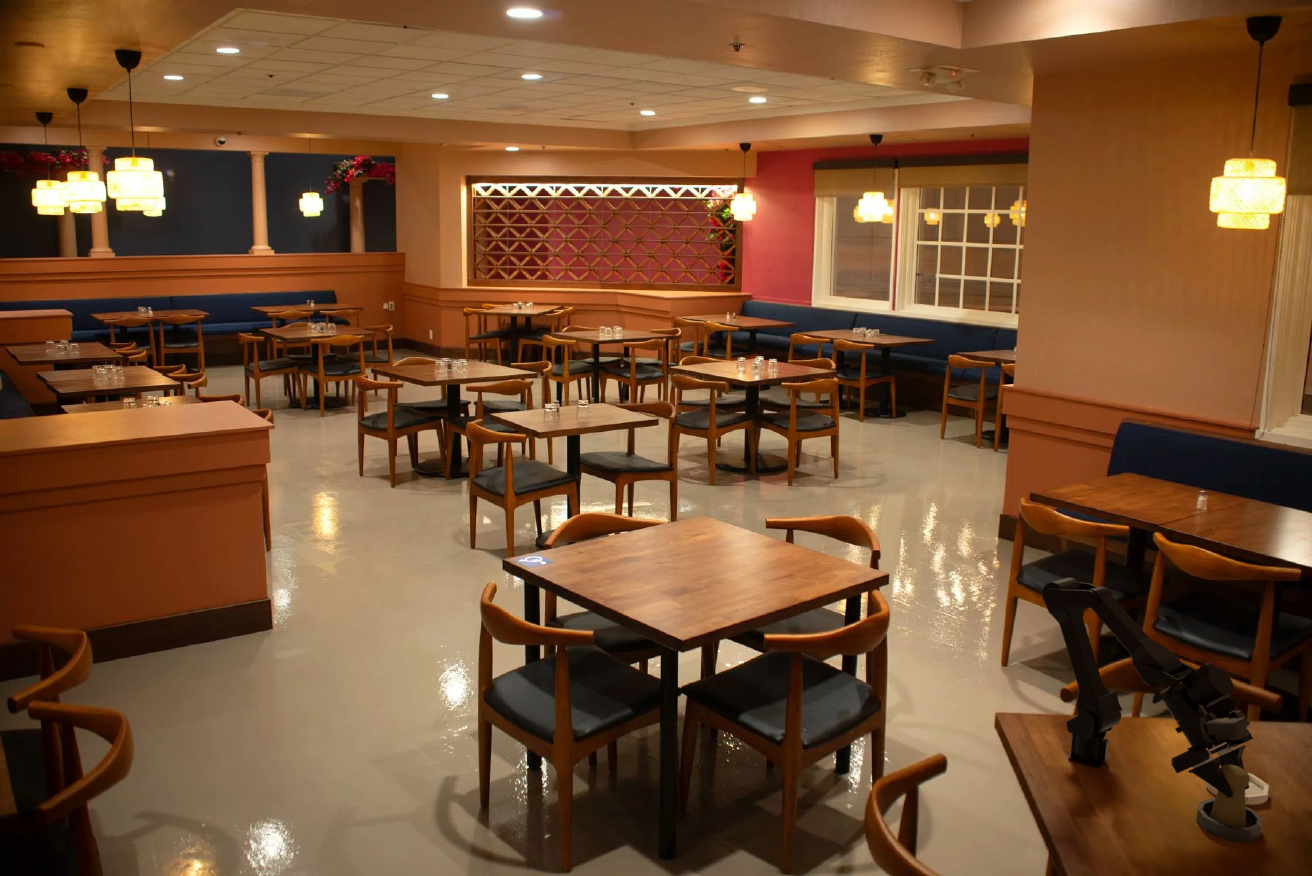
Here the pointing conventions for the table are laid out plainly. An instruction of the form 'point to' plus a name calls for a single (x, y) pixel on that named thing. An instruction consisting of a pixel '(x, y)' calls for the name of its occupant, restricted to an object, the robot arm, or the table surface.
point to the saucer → (1251, 791)
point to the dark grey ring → (1225, 830)
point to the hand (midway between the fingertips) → (1239, 792)
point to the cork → (1232, 798)
